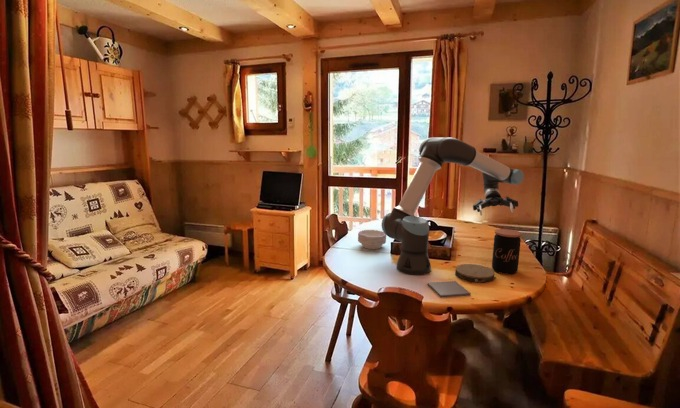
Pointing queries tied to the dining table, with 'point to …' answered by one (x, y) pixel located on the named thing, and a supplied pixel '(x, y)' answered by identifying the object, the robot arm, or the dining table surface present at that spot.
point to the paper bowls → (371, 238)
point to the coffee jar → (506, 251)
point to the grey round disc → (474, 273)
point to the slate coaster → (448, 289)
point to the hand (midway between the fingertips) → (496, 211)
